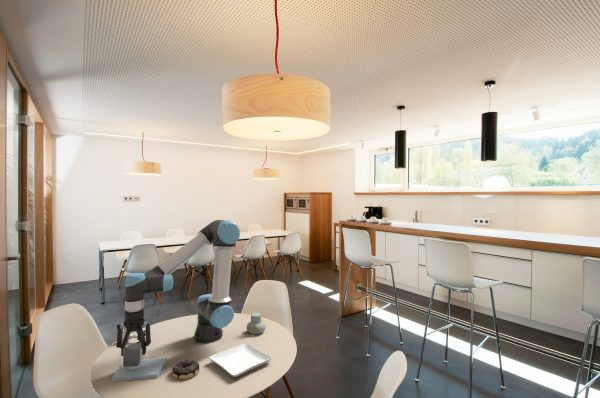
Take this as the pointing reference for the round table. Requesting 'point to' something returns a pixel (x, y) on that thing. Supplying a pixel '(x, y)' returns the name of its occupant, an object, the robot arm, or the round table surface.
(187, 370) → the donut
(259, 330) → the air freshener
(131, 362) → the brushed metal cube
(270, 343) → the round table surface
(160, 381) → the round table surface
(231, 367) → the salad plate
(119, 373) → the board
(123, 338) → the valve
